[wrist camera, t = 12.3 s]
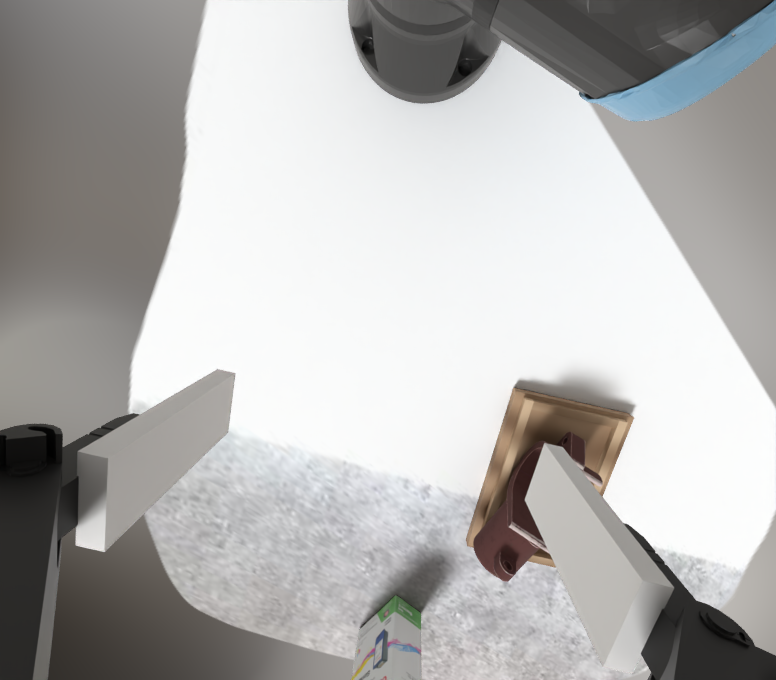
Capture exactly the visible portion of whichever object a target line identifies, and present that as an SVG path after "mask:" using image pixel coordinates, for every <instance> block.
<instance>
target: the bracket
mask: <svg viewBox="0 0 776 680" xmlns="http://www.w3.org/2000/svg"><path fill="white" fill-rule="evenodd" d="M544 443H547V442H545V441H539V442H537V443H536V444H534V445H533V446H532V447H531V448H530V449H529V450H528V451H527V452H526V453H525V454H524V456H523V457H522V459H521V460H520V462H519V463H518V465H517V467H516V468H515V470H514V472H513V475H512V477H511V480H510V482H509V486H508V490H507V500H506V501H505V502H504V503H503V504H502V506H501V507H500V508H499V509H498V510H497V511H496V513H495V514H494V515H493V516H492V517H491V519H490V520H489V521H488V522H487V523H486V524H485V526H484V527H483V528H482V529H481V530H480V531H479V533H478V534H477V535H476V536H475V538H474V541H473V546H474V551H475V553H476V556H477V558H478V559H479V561H480V562H481V564H482V565H483V566H484V567H485V569H486V570H488V571H489V572H490V573H491V574H493V575H494V576H496V577H498V578H500V579H501V580H502V581H505V582H507V581H509V580H510V579H511V578H512V577H513V576H514V575H515V574H516V572H517V571H518V570H519V569H520V568H521V567H522V566H523V565H524V564H525V563H526V562H527V561H528V560H529V559H530V558H531V557H532V556H533V554H534V553H535V552H536V551H537V550H538V549H539V548H541V549H543V550H544V551H546V552H547V553H549V551H548V549H547V547H546V544H545V542H544V540H543V538H542V536H541V534H540V532H539V529H538V527H537V525H536V523H535V521H534V519H533V517H532V514H531V512H530V510H529V508H528V506H527V504H526V502H525V497H526V495H527V492H528V489H529V486H530V483H531V480H532V477H533V474H534V471H535V469H536V466H537V463H538V460H539V457H540V454H541V451H542V448H543V446H544ZM547 444H548V443H547ZM556 446H560V447H563V448H564V449H565V451H566V452H567V453H568V455H569V456H570V457H571V458H572V460H573V461H574V462H575V463H576V465H577V466H578V467H579V468H580V470H581V471H582V472H583V473H584V475H585V476H586V477H587V478H588V480H589V481H591V482H593V483H594V484H596V485H597V486H599V487H601V486H602V485H603V481H602V478H601V477H600V475H599V474H598V473H596V472H594V471H593V470H591V469H589V468H588V467H586V466H585V440H584V439H582V438H580V437H579V436H577V435H575V434H574V433H572V432H567V433H566V434H565V435H564V436H563V437H562V438H561V439H560V441H559V442H558V443H557V444H556ZM549 554H550V553H549Z"/></svg>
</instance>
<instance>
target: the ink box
mask: <svg viewBox="0 0 776 680" xmlns="http://www.w3.org/2000/svg"><path fill="white" fill-rule="evenodd" d="M352 680H421V613H420V612H419V611H417V610H416V609H414V608H413V607H412V606H410V605H409V604H408V603H406V602H405V601H404V600H402V599H401V598H400V597H398V596H396V595H395V596H394V597H393V598H392V599H391V600H390V601H389V602H388V603H387V604H386V605H385V606H384V607H383V608H382V609H381V610H380V611H379V612H378V613H377V614H375V615H374V616H373V617H372V618H371V619H370V620H369V621H368V622H367V623H366V624H365V625H364V626H363V627H362V628H361V629H359V634H358V640H357V647H356V653H355V659H354V666H353V673H352Z"/></svg>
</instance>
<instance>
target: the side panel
mask: <svg viewBox="0 0 776 680" xmlns="http://www.w3.org/2000/svg"><path fill="white" fill-rule="evenodd" d="M633 419H634V417H633V416H631V415H630V414H628V413H624V412H620V411H616V410H611V409H607V408H602V407H598V406H593V405H589V404H584V403H580V402H576V401H571V400H567V399H562V398H558V397H553V396H549V395H544V394H540V393H535V392H531V391H527V390H522V389H518V388H513V391H512V394H511V397H510V400H509V404H508V407H507V410H506V413H505V416H504V420H503V423H502V426H501V429H500V432H499V435H498V439H497V442H496V445H495V448H494V451H493V455H492V458H491V461H490V464H489V467H488V471H487V474H486V477H485V480H484V483H483V487H482V490H481V493H480V496H479V499H478V503H477V506H476V509H475V512H474V515H473V518H472V522H471V525H470V528H469V531H468V534H467V538H466V542H467V546H469V547H473V548H474V546H473V541H474V538H475V536H476V535H477V534H478V533H479V531H480V530H481V529H482V528H483V527H484V526H485V524H486V523H487V522H488V521H489V520H490V519H491V517H492V516H493V515H494V514H495V513H496V511H497V510H498V509H499V508H500V507H501V506H502V504H503V503H504V502H505V501H506V500H507V490H508V486H509V482H510V480H511V477H512V475H513V472H514V470H515V468H516V467H517V465H518V463H519V462H520V460H521V459H522V457H523V456H524V454H525V453H526V452H527V451H528V450H529V449H530V448H531V447H532V446H533V445H534V444H536V443H537V442H539V441H545V442H547V443H548V444H551V445H556V444H557V443H558V442H559V441H560V439H561V438H562V437H563V436H564V435H565V434H566V433H567V432H572V433H574V434H575V435H577V436H579V437H580V438H582V439H584V440H585V466H586V467H588V468H589V469H591V470H593V471H594V472H596V473H598V474H599V475H600V477H601V478H602V481H603V485H602V486H601V487H599V486H597V485H596V484H594V483H593V482H591V481H590V482H591V483H592V485H593V486H594V487H595V488H596V490H597V491H598V492H599V494H600V495H601V496H603V494H604V491H605V489H606V486H607V484H608V481H609V479H610V476H611V474H612V471H613V469H614V466H615V464H616V461H617V459H618V456H619V454H620V451H621V449H622V446H623V444H624V442H625V439H626V437H627V434H628V432H629V429H630V427H631V424H632V422H633ZM528 561H529V562H534V563H538V564H543V565H547V566H551V567H556V566H555V564H554V562H553V559H552V557H551V555H550V554H549V553H547V552H546V551H544V550H543V549H541V548H539V549H538V550H537V551H536V552H535V553H534V554H533V556H532V557H531V558H530V559H529V560H528Z"/></svg>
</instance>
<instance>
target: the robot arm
mask: <svg viewBox="0 0 776 680" xmlns="http://www.w3.org/2000/svg"><path fill="white" fill-rule="evenodd" d="M348 15H349V24H350V29H351V33H352V37H353V41H354V44H355V48H356V51H357V54H358V56H359V59H360V61H361V63H362V65H363V66H364V68H365V70H366V71H367V73H368V74H369V75H370V77H371V78H372V79H373V80H374V81H375V82H376V83H377V84H378V85H379V86H380V87H381V88H382V89H384V90H385V91H386V92H388V93H389V94H391V95H393V96H395V97H397V98H399V99H402V100H405V101H409V102H414V103H435V102H440V101H444V100H447V99H449V98H452V97H454V96H456V95H458V94H460V93H461V92H463V91H464V90H466V89H467V88H469V87H470V86H471V85H472V84H473V83H474V82H475V81H477V80H478V79H479V77H480V76H481V75H482V74H483V73H484V71H485V70H486V69H487V67H488V66H489V64H490V63H491V61H492V59H493V58H494V56H495V54H496V51H497V49H498V47H499V44H500V42H501V40H503V41H504V42H506V43H507V44H509V45H510V46H512V47H513V48H515V49H516V50H518V51H519V52H521V53H522V54H524V55H525V56H527V57H528V58H530V59H531V60H533V61H534V62H536V63H537V64H539V65H540V66H542V67H543V68H545V69H546V70H548V71H549V72H551V73H552V74H554V75H555V76H557V77H558V78H560V79H561V80H563V81H564V82H566V83H567V84H569V85H570V86H572V87H573V88H575V89H576V90H578V91H579V95H580V97H582V98H583V99H584V100H586V101H587V102H591V103H597V104H600V105H602V106H603V107H605V108H607V109H608V110H610V111H612V112H613V113H615V114H617V115H618V116H620V117H622V118H624V119H626V120H630V121H645V120H649V121H651V120H656V119H660V118H663V117H665V116H668V115H671V114H673V113H676V112H678V111H680V110H682V109H683V108H686V107H687V106H690V105H692V104H693V103H695V102H696V101H698V100H700V99H702V98H703V97H705V96H707V95H708V94H710V93H711V92H713V91H715V90H716V89H718V88H719V87H720V86H722V85H723V84H725V83H726V82H727V81H729V80H730V79H732V78H733V77H735V76H736V75H737V74H739V73H740V72H741V71H743V70H744V69H745V68H747V67H748V66H749V65H751V64H752V63H753V62H754V61H756V60H757V59H758V58H760V57H761V56H762V55H763V54H765V53H766V52H767V51H768V50H769V49H771V48H772V47H773V46H774V45H775V44H776V0H348ZM234 380H235V373H232V372H227V371H223V370H218V369H217V370H215V371H214V372H212V373H210V374H209V375H207V376H205V377H203V378H202V379H200V380H198V381H197V382H195V383H193V384H192V385H190V386H188V387H186V388H185V389H183V390H181V391H180V392H178V393H176V394H175V395H173V396H171V397H169V398H168V399H166V400H164V401H163V402H161V403H159V404H157V405H156V406H154V407H152V408H151V409H149V410H147V411H146V412H144V413H142V414H140V415H139V414H134V413H133V414H129V415H126V416H123V417H119V418H116V419H114V420H112V421H110V422H108V423H106V424H105V425H103V426H102V427H101V428H97V429H96V430H94V431H92V432H90V434H89V435H85V436H83V437H81V438H79V439H77V440H76V441H74V442H72V443H70V444H68V445H67V446H65V447H63V448H62V440H63V439H62V437H63V436H62V431H61V429H60V428H57V427H55V426H54V425H47V424H27V425H20V426H14V427H11V428H7V429H4V430H1V431H0V680H48V672H49V662H50V652H51V643H52V634H53V625H54V614H55V605H56V596H57V587H58V577H59V568H60V559H61V549H62V537H63V536H65V535H66V534H67V533H68V532H70V531H71V530H72V529H73V528H75V527H76V545H77V546H81V547H85V548H90V549H94V550H98V551H103V552H105V551H106V550H107V549H108V548H109V547H110V546H111V545H112V544H113V543H114V542H115V541H116V540H117V539H118V538H119V537H120V536H121V535H122V534H123V533H124V532H125V531H126V530H128V529H129V528H130V527H131V526H132V525H133V524H134V523H135V522H136V521H137V520H138V519H139V518H140V517H141V516H142V515H143V514H144V513H145V512H146V511H147V510H148V509H149V508H150V507H151V506H152V505H153V504H154V503H156V502H157V501H158V500H159V499H160V498H161V497H162V496H163V495H164V494H165V493H166V492H167V491H168V490H169V489H170V488H171V487H172V486H173V485H174V484H175V483H176V482H177V481H178V480H179V479H180V478H181V477H182V476H183V475H185V474H186V473H187V472H188V471H189V470H190V469H191V468H192V467H193V466H194V465H195V464H196V463H197V462H198V461H199V460H200V459H201V458H202V457H203V456H204V455H205V454H206V453H207V452H208V451H209V450H210V449H211V448H212V447H213V446H215V445H216V444H217V443H218V442H219V441H220V440H221V439H222V438H223V437H224V436H225V435H226V434H227V433H228V429H229V421H230V413H231V404H232V396H233V388H234ZM525 502H526V504H527V506H528V508H529V510H530V512H531V514H532V517H533V519H534V521H535V523H536V525H537V527H538V529H539V532H540V534H541V536H542V538H543V540H544V542H545V544H546V547H547V549H548V551H549V553H550V555H551V557H552V559H553V562H554V564H555V566H556V568H557V570H558V572H559V574H560V577H561V579H562V581H563V583H564V585H565V587H566V589H567V591H568V594H569V596H570V598H571V600H572V602H573V604H574V606H575V609H576V611H577V613H578V615H579V617H580V619H581V621H582V624H583V626H584V628H585V630H586V632H587V634H588V636H589V639H590V641H591V643H592V645H593V647H594V649H595V651H596V654H597V656H598V658H599V660H600V662H601V664H602V666H603V667H604V668H608V669H612V670H617V671H621V672H625V673H630V674H633V672H634V670H635V668H636V666H637V664H638V662H639V660H640V658H641V656H642V657H643V658H644V660H645V662H646V664H647V665H648V667H649V669H650V671H651V674H650V676H649V678H648V680H776V656H775V655H773V654H771V653H769V652H766V651H764V650H762V649H760V648H758V647H755V645H754V643H753V641H752V640H751V638H750V637H749V636H748V634H747V633H746V632H745V631H744V630H743V629H742V628H741V627H740V626H739V625H738V624H737V623H736V622H734V621H733V620H732V619H730V618H729V617H728V616H726V615H725V614H723V613H722V612H721V611H719V610H717V609H715V608H713V607H711V606H710V605H708V604H705V603H702V602H698V601H696V600H695V599H694V597H693V596H692V595H691V594H690V593H689V591H688V590H687V589H686V588H685V587H684V585H683V584H682V583H681V582H680V581H679V579H678V578H677V577H676V576H675V574H674V573H673V572H672V571H671V570H670V568H669V567H668V566H667V565H665V564H664V563H665V562H664V561H663V560H662V559H661V558H660V556H659V555H658V554H656V553H655V550H654V549H653V548H652V547H651V545H650V544H649V543H648V542H647V541H646V539H645V538H644V537H643V536H641V535H640V534H639V533H638V532H637V531H635V530H634V529H633V528H632V527H631V526H629V525H628V524H624V523H623V522H622V521H621V520H620V519H619V517H618V516H617V515H616V514H615V512H614V511H613V510H612V509H611V507H610V506H609V505H608V504H607V502H606V501H605V500H604V499H603V497H602V496H601V495H600V494H599V492H598V491H597V490H596V488H595V487H594V486H593V485H592V483H591V482H590V481H589V480H588V478H587V477H586V476H585V475H584V473H583V472H582V471H581V470H580V468H579V467H578V466H577V465H576V463H575V462H574V461H573V460H572V458H571V457H570V456H569V455H568V453H567V452H566V451H565V449H564V448H563V447H560V446H556V445H551V444H547V443H544V446H543V448H542V451H541V454H540V457H539V460H538V463H537V466H536V469H535V471H534V474H533V477H532V480H531V483H530V486H529V489H528V492H527V495H526V497H525Z"/></svg>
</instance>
